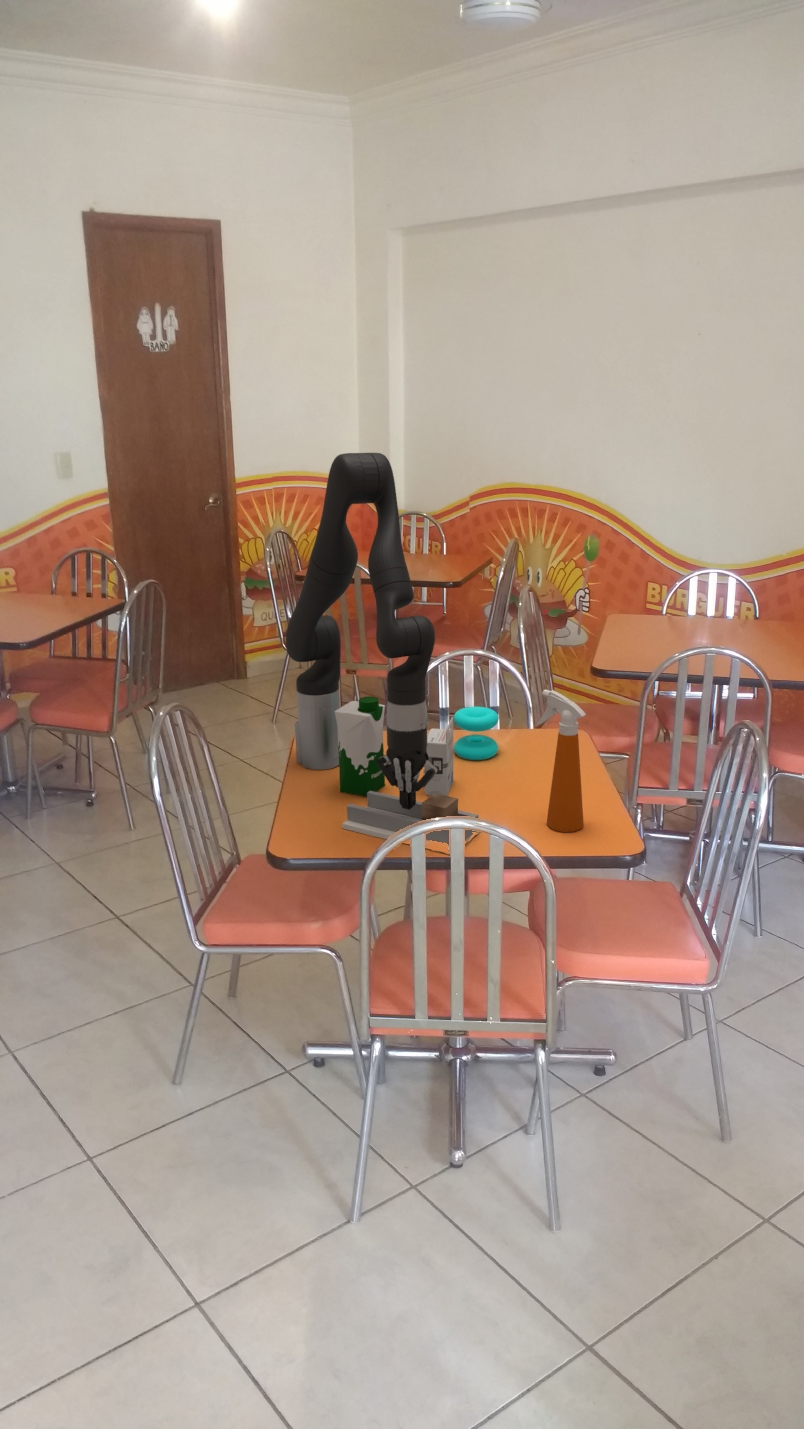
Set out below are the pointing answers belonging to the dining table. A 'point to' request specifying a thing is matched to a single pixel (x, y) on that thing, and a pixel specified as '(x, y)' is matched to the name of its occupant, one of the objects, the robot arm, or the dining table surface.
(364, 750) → the milk carton
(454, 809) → the block
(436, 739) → the ink box
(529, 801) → the dining table surface
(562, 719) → the spray bottle
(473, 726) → the donuts
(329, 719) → the robot arm
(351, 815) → the chute
